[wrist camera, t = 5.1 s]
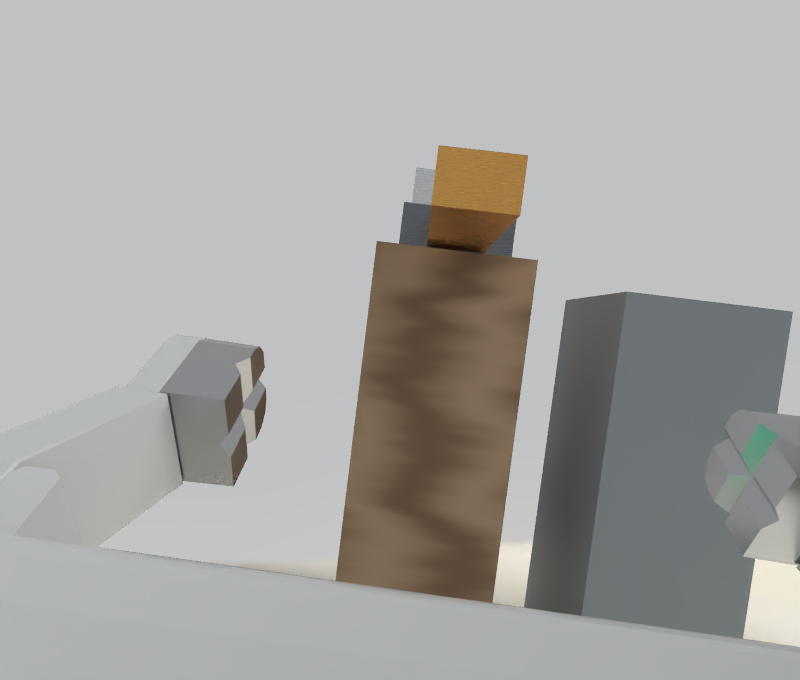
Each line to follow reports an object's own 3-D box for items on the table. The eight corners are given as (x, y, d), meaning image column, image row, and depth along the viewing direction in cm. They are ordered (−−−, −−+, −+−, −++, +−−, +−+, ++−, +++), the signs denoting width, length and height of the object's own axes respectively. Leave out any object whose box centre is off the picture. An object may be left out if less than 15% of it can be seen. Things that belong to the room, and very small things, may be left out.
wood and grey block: (488, 276, 37) (497, 211, 37) (564, 227, 18) (582, 92, 18) (403, 266, 38) (411, 201, 37) (386, 207, 18) (402, 72, 18)
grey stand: (633, 651, 38) (682, 314, 37) (720, 785, 27) (792, 311, 26) (520, 635, 38) (565, 300, 37) (561, 762, 27) (627, 291, 26)
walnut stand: (457, 626, 38) (503, 278, 37) (472, 748, 27) (537, 260, 26) (346, 610, 39) (389, 264, 38) (318, 725, 28) (377, 240, 27)
